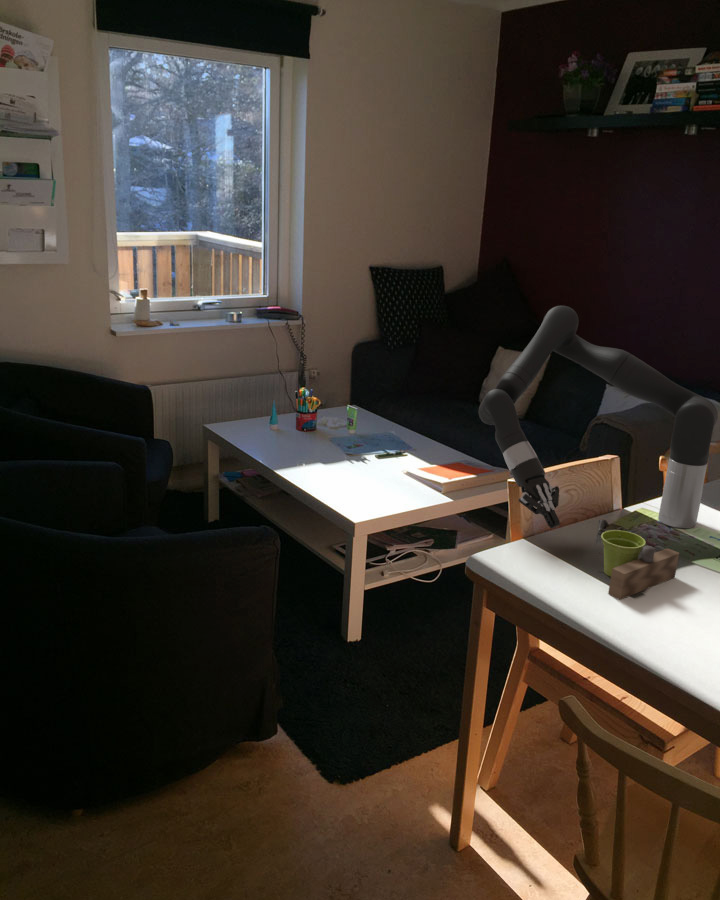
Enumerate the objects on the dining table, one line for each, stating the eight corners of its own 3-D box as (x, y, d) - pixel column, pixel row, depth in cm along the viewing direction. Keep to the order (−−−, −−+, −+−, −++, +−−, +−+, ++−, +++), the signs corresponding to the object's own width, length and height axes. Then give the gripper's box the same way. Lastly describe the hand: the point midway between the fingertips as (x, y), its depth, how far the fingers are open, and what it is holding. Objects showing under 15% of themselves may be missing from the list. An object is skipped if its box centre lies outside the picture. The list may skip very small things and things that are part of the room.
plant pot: (617, 586, 174) (623, 550, 172) (587, 568, 182) (592, 533, 180) (648, 579, 179) (654, 543, 176) (617, 561, 187) (622, 527, 184)
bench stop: (663, 572, 182) (669, 535, 180) (674, 577, 180) (681, 540, 177) (608, 593, 171) (614, 555, 168) (619, 599, 169) (626, 561, 166)
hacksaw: (598, 522, 210) (599, 517, 209) (639, 530, 206) (640, 524, 206) (591, 559, 188) (592, 553, 188) (637, 568, 185) (638, 562, 184)
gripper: (532, 466, 205) (563, 527, 200) (495, 474, 198) (527, 538, 192) (550, 452, 200) (583, 515, 194) (514, 460, 192) (547, 525, 187)
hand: (555, 526), depth 193 cm, fingers closed
